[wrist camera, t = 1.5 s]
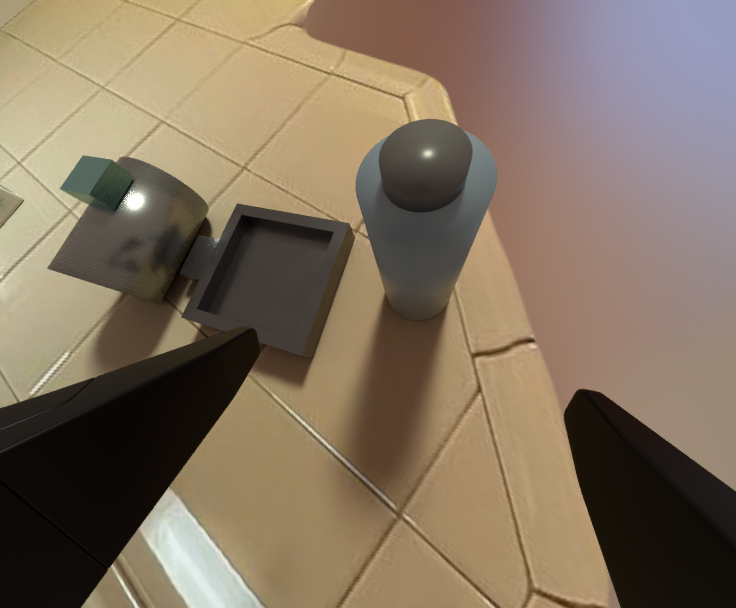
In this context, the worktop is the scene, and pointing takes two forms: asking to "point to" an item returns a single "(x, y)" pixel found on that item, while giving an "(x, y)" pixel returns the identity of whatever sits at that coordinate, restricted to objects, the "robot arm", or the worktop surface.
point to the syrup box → (8, 203)
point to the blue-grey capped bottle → (424, 210)
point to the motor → (204, 253)
